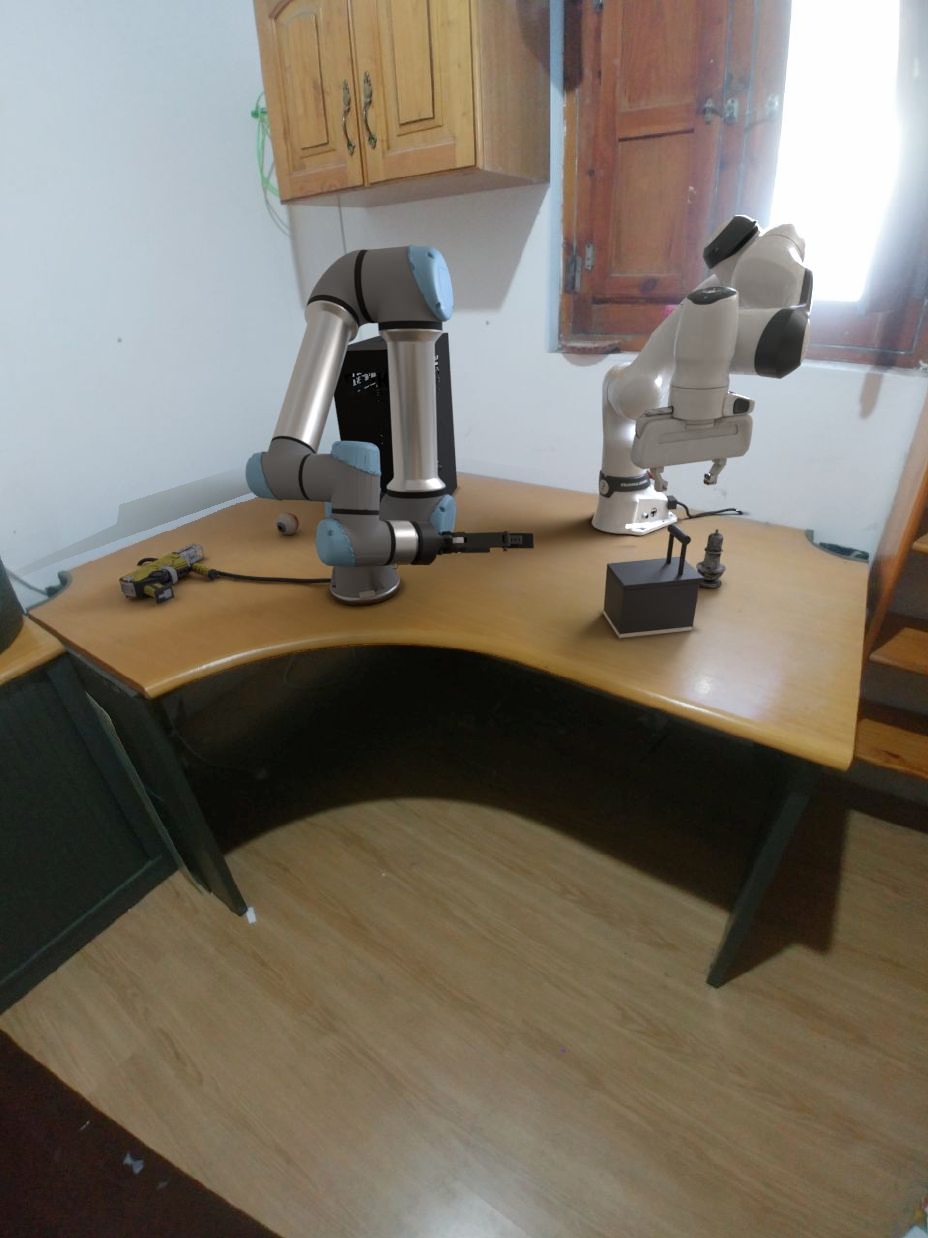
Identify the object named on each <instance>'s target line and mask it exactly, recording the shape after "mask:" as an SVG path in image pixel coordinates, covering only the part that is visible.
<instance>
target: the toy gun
mask: <svg viewBox="0 0 928 1238" xmlns="http://www.w3.org/2000/svg"><path fill="white" fill-rule="evenodd" d="M200 551H201V552H202V554H198V553H199V552H200ZM203 559H205V553H204V546H203V545H201V544H197V543H194V542H192V543H191V544H189V545H187V546H185V547H183V548H181V549H179V550H177V551H173V552H171V553H168V554H167V555H164V556H163V557H160V558H158V560H156V561H154V562H149V563H148V564H146V565H143V566H141V567H139V568H137V569H135V570H132V571H131V572H129V573H126V574H124V575H122V576H121V577H119V579H118V582H119V585H120V589H121V590H120V591H121V592H122V594H123V595H124V596H125V598H129V599H133V598H136V599H137V598H138V599H141V598H145V597H149V596H150V597H153V598H154V599H155V602H156V604H157V605H160V604H162V603H164V602H166V601H168V600H171V599H174V598H175V594H174V590H173V585H175V584H177V583H178V580H179V579H180V578H182V577H184V576H185V577H186V576H187V575H190V573H194V574H198V575H200V576H203V577H204V578H208V579H209V580H211V581H213V580H216V579H218V577H219V575H218V571H219V570H217V569H216V568H211V567H208V566H206V565H203V564H200V563H198V562H199V561H200V560H203ZM189 564H193V565H192V566H190V565H189Z"/></svg>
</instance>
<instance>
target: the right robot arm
mask: <svg viewBox="0 0 928 1238" xmlns="http://www.w3.org/2000/svg"><path fill="white" fill-rule="evenodd" d="M809 250H810V237H809V234H808V231H807V229H806V228H805V226H804V225H802V224H801V223H800V222H798V221H795V220H789V219H788V220H787V219H786V220H781V221H777V222H775V223H773V224H771V225H769V226H768V227H766V228H765V229H762V227H760V225H759V223H758V220H757V219H752V218H751V217H749V216H747V215H745V214H738V215H737V214H735V215H734V216H732V217H731V218H728V219H727V220H725V221H724V222H722V223H721V224H719V225H718V226H717V227H716V229H714V231H713V232H712V233H711V234H710V236H709V238H708V239H707V242H706V245H705V247H704V248H703V251H702V258H703V262H704V263H705V265H706V267H707V268H708V270H711V271H712V272H713V274H712V275H710V276H709V277H708V278H706V279H705V280H704V281H703V282H701V283H699V285H698V286H696V287H695V288H694V289H693V290H692V291H691V292H689V293H688V294H687V295H686V296H685V297H684V299H682V301H680V302H679V304H678V305H677V306H676V307H675V308H674V309H673V310H672V311H671V313H670V314H669V315H667V316H666V318H665V319H664V320H663V321H662V322H660V324H659V325H658V326H657V328H655V330H654V331H652V333H651V334H650V336H649V338H648V340H647V341H646V343H645V345H644V346H643V347H642V349H641V350H640V352H639V353H638V355H637V356H636V357H635V359H634V360H633V361H632V362H629V361H626V362H621V363H617V364H616V365H613V366H612V367H611V368H610V369H608V370H607V372H606V373H605V375H604V377H603V380H602V386H601V387H602V388H601V392H602V393H601V397H602V398H601V413H602V414H601V416H602V417H601V418H602V419H601V420H602V453H601V468H600V470H599V474H598V492H599V493H598V498H597V502H596V507H595V511H594V514H593V517H592V520H591V525H592V526H593V527H594V528H595V529H597V530H599V531H601V532H605V533H611V534H623V535H625V534H626V535H632V536H633V535H634V536H645V535H646V534H650V533H652V532H654V531H657V530H660V529H662V528H665V527H668V526H669V525H670V524H676V523H677V522H678V516H677V515H676V514H675V513H674V512H672V511H673V510H677V508H678V505H679V506H680V507H682V508H684V510H685V514H686V516H687V517H688V518H690V519H695V518H698V517H702V516H708V515H715V514H716V515H717V514H722V513H726V512H727V513H728V512H735V513H738V514H739V515H744V514H745V513H744V512H743V511H742V510H740V509H739V510H740V511H736V509H737V508H736V509H735V507H729V508H724V509H723V508H722V509H719V510H711V511H704V512H699V513H696V514H691V513H690V510H689V507H688V505H686V504H685V503H683V502H681V501H678V499H677V498H676V497H675V496H674V495H672V494H671V495H665V494H664V493H665V492H667V491H668V485H669V482H668V481H667V480H666V479H664V478H663V477H662V474H663V473H664V471H665V470H664V469H665V467H671V466H672V467H673V466H680V465H687V464H694V463H703V462H711V463H713V464H712V465H711V467H710V469H709V471H708V472H704V474H703V480H702V481H703V482H702V483H703V484H704V485H706V486H715V485H717V483H718V478H719V475H720V474H721V472H722V471H723V469H724V468H725V467H726V466H727V461H728V459H733V458H740V457H744V456H745V455H746V454H747V453H748V451H749V450H750V446H751V443H752V435H753V427H754V421H753V420H754V419H753V417H752V415H751V413H753V411H754V410H755V406H756V401H755V400H754V399H753V398H750V397H747V396H744V395H741V394H737V393H736V392H734V391H732V390H731V391H729V388H730V382H731V380H730V375H736V376H737V375H739V376H740V375H741V376H759V377H762V378H771V379H779V380H781V379H783V378H785V377H787V376H788V375H790V374H791V373H793V372H794V371H795V370H797V369H798V368H799V367H801V366H802V363H803V361H804V360H805V358H806V356H807V354H808V351H809V347H810V343H811V334H812V331H811V330H812V329H811V323H810V322H811V321H810V317H811V312H812V306H813V298H814V293H815V290H814V288H815V274H814V271H813V269H812V268H810V267H808V266H806V263H807V259H808V255H809V252H810V251H809ZM667 395H668V398H667V406H662V407H660V406H661V404H662V401H663V399H664V397H666V396H667ZM651 480H653V481H654V483H653V485H652V483H651ZM663 492H664V493H663ZM671 510H672V511H671Z"/></svg>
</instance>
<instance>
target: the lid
mask: <svg viewBox="0 0 928 1238" xmlns="http://www.w3.org/2000/svg"><path fill="white" fill-rule="evenodd" d="M667 532H668V533H669V536H668V542H667V543H668V544H667V552H666V557H662V558H652V559H651V558H650V559H642V560H641V559H639V560H631V561H621V562H619V561H618V562H611V563H606V570H607V569H608V570H609V572H610V573H611V574H612V576H613V577H614V578H615V579H616V581H617V582H618V583H619V585H620V586H621V587H622V589H623V590H632V589H642V588H652V587H662V586H672V585H682V584H692V583H702V582H703V580H704V577H703V576H702V575H701V574H699V573H698V572H697V569H695V568H694V567H693V565H691V564H690V563H689V562H688V560H686V555H687V549H688V548H687V547H688V545H689V544H690V543H691V541H692V538H691V536H690V535H688V534H687V533H686V532H685V531H684V530H682V529H681V528H680V527H679V526H678V525H677V524H676V523H672V524H670V525H667ZM675 539H676V540H677V541H679V543H681V548H680V554H679V556H673V551H674V550H673V548H674V542H675ZM672 556H673V557H672Z"/></svg>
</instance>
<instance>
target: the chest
mask: <svg viewBox="0 0 928 1238" xmlns="http://www.w3.org/2000/svg"><path fill="white" fill-rule="evenodd" d="M699 592H700V583H692V584H682V585H672V586H662V587H652V588H642V589H632V590H623V589H622V587H621V586H620V585H619V583H618V582H617V581H616V579H615V578H614V577H613V576H612V574H611V573H610V572H609V570H608V569H607V568H606V574H605V587H604V599H603V610H602V611H603V612H602V613H603V615H604V617H605V618H606V620H607V621H608V623H609V624H610V626H611V628H612V629H613V631H614V632H615V634H616V635H617V637H618V639H622V638H632V637H641V636H650V635H659V634H668V633H670V634H671V633H679V632H688V631H693V628H694V622H695V614H696V610H697V603H698V597H699Z"/></svg>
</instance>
